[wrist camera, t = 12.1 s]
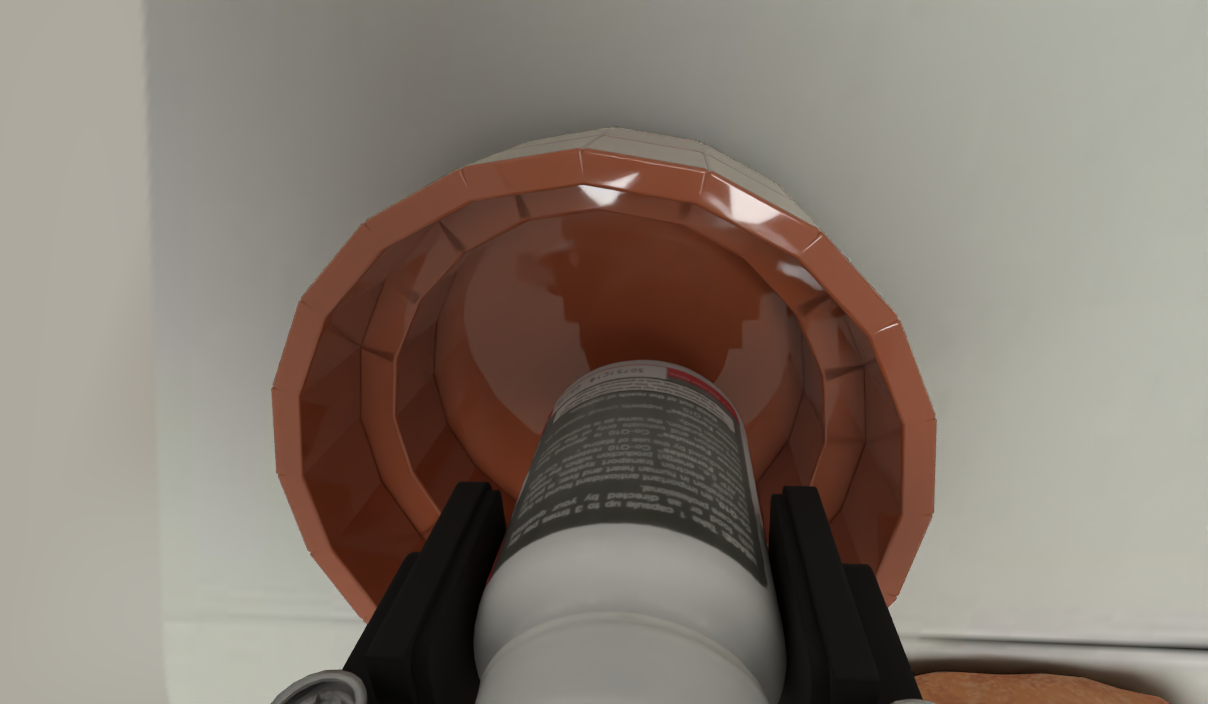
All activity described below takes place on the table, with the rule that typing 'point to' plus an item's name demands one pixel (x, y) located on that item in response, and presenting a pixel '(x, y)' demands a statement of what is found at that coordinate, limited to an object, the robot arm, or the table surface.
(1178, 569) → the table surface
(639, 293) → the terracotta bowl
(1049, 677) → the bread
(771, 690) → the pill bottle
